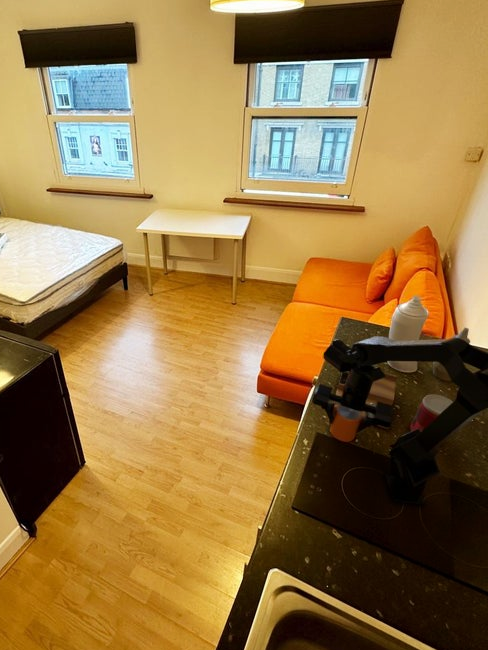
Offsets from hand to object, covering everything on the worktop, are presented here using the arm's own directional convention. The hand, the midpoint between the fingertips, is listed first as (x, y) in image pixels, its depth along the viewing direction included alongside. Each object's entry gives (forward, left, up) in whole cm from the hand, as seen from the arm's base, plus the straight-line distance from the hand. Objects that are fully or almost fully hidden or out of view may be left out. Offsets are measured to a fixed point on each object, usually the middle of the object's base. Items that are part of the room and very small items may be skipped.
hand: (344, 427), depth 100 cm
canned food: (+3, -22, -2) cm, 22 cm away
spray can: (+34, -23, -2) cm, 41 cm away
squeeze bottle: (+30, -36, -2) cm, 47 cm away
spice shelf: (+14, -8, -2) cm, 16 cm away
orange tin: (0, 0, -2) cm, 2 cm away
